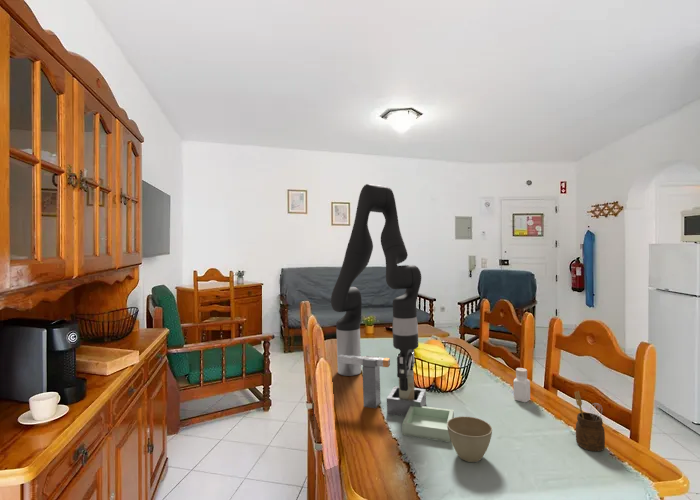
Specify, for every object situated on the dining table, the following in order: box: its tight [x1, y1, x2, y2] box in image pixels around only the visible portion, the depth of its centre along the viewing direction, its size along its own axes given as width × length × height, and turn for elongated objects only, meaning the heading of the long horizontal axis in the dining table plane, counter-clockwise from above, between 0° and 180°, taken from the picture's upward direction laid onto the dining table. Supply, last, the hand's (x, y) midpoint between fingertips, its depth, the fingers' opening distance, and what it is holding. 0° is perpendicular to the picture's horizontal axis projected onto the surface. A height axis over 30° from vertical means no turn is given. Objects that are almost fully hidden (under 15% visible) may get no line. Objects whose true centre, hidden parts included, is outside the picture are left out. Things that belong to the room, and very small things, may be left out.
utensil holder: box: [574, 390, 606, 452], centre depth 91 cm, size 6×6×12 cm
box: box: [398, 369, 415, 400], centre depth 115 cm, size 5×4×11 cm
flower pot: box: [447, 415, 493, 463], centre depth 88 cm, size 10×10×7 cm
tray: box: [401, 405, 455, 443], centre depth 103 cm, size 12×12×3 cm
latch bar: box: [338, 355, 391, 368], centre depth 119 cm, size 2×16×2 cm, turn 70°
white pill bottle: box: [513, 367, 531, 403], centre depth 118 cm, size 4×4×10 cm
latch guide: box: [361, 355, 381, 409], centre depth 118 cm, size 5×4×14 cm
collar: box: [386, 385, 427, 417], centre depth 115 cm, size 10×10×4 cm
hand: (407, 385), depth 114 cm, fingers open, 8 cm apart
